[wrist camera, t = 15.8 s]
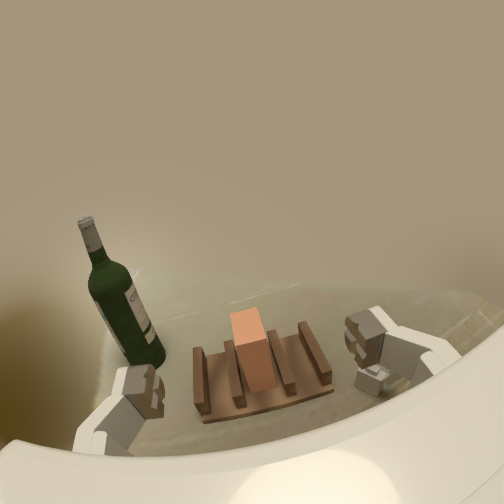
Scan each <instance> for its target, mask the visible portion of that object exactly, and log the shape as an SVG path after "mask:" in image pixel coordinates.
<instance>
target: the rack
mask: <svg viewBox="0 0 504 504" xmlns="http://www.w3.org/2000/svg"><path fill="white" fill-rule="evenodd" d="M298 331H299V334H296V335H292V336H288V337H285V338H281V339H279V338H278V335H277V332H276V330H271V331H267V335H268V340H269V342H267V343H268V348H269V353H270V357H271V362H272V367H273V372H274V377H275V382H276V388H272V389H268V390H264V391H260V392H256V393H252V394H251V392H250V389H249V386H248V383H247V380H246V377H245V374H244V371H243V368H242V364H241V361H240V358H239V355H238V352H237V350H235V347H234V343H233V340H229V341H225V342H224V347H225V352H223V353H218V354H213V355H208V356H205V354H204V352H203V349H202V347H196V348H193V390H194V405H195V406H196V408H197V409H198V411H199V412H200V414H201V415H202V422H203V423H204V424H206V423H212V422H219V421H225V420H230V419H236V418H241V417H246V416H250V415H255V414H259V413H264V412H268V411H272V410H276V409H280V408H283V407H287V406H291V405H294V404H298V403H301V402H304V401H308V400H311V399H314V398H317V397H320V396H323V395H326V394H329V393H332V392H333V391H334V388H333V386H332V384H331V381H332V369H331V367H330V365H329V363H328V361H327V359H326V358H325V356H324V354H323V352H322V350H321V348H320V346H319V344H318V343H317V341H316V339H315V337H314V335H313V333H312V331H311V329H310V328H309V326H308V324H307V322H306V321H304V322H300V323H298Z"/></svg>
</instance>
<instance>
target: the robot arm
mask: <svg viewBox="0 0 504 504" xmlns="http://www.w3.org/2000/svg"><path fill="white" fill-rule="evenodd" d="M345 325H346V326H347V330H346V331H345V342H346V345H347V348H348V349H349V351H350V352H351V353H353V354H355V361H356V362H357V364H358V365H359V367H360V368H361V370H363V369H365V368H368V367H370V366H373V365H376V364H378V363H379V364H380V365H382V366H383V367H385V368H387V369H389V370H391V371H393V372H395V373H397V374H399V375H400V376H402V377H404V378H406V379H408V380H410V381H411V383H410V386H409V388H408V390H407V391H405V392H403V393H401V394H399V395H397V396H396V397H394V398H391V399H389V400H387V401H385V402H383V403H381V404H379V405H377V406H375V407H372V408H370V409H368V410H365V411H363V412H361V413H358V414H356V415H353V416H351V417H348V418H346V419H343V420H341V421H338V422H335V423H332V424H330V425H327V426H324V427H321V428H318V429H315V430H312V431H308V432H305V433H302V434H298V435H295V436H291V437H288V438H284V439H280V440H276V441H272V442H268V443H263V444H259V445H254V446H249V447H244V448H238V449H233V450H226V451H220V452H212V453H204V454H194V455H182V456H164V457H135V456H134V455H132V454H131V453H130V452H128V451H127V450H128V448H129V447H130V445H131V443H132V442H133V440H134V439H135V437H136V435H137V434H138V432H139V431H140V429H141V428H142V426H143V424H144V423H145V421H146V419H156V418H164V404H163V403H162V400H163V398H164V397H165V389H164V384H163V382H162V379H161V378H160V376H158V375H156V374H155V368H154V367H153V365H152V364H145V365H136V366H128V367H119V368H118V369H117V372H116V376H115V380H114V384H113V389H112V393H111V396H108V397H107V398H106V399H105V400H104V401H103V402H102V403H101V404H100V405H99V406H98V407H97V408H96V409H95V411H94V412H93V413H92V414H91V415H90V416H89V417H88V418H87V419H86V420H85V421H84V422H83V423H82V425H81V426H80V427H79V428H78V429H77V432H76V437H75V441H74V446H73V451H65V450H60V449H55V448H49V447H45V446H40V445H36V444H32V443H28V442H24V441H21V440H13V441H12V442H10V443H9V444H8V445H6V446H5V447H4V448H3V449H2V450H1V451H0V504H504V324H503V325H502V326H501V327H500V328H499V329H498V330H496V331H495V332H494V333H493V334H492V335H490V336H489V337H488V338H487V339H485V340H484V341H483V342H482V343H480V344H479V345H478V346H476V347H475V348H474V349H472V350H471V351H470V352H468V353H467V354H465V355H464V356H463V357H461V356H460V355H459V353H458V352H457V351H456V350H455V349H454V348H453V347H452V346H451V345H450V344H449V343H448V342H447V341H446V340H444V339H441V338H437V337H434V336H431V335H428V334H425V333H421V332H418V331H415V330H412V329H409V328H406V327H403V326H400V327H398V326H397V325H396V324H395V323H394V322H393V321H392V320H391V318H390V317H389V316H388V315H387V314H386V313H385V312H384V311H383V310H382V309H381V308H380V307H379V306H375V307H373V308H370V309H367V310H365V311H362V312H359V313H356V314H354V315H351V316H348V317H346V319H345Z"/></svg>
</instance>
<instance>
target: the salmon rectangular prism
mask: <svg viewBox="0 0 504 504" xmlns="http://www.w3.org/2000/svg"><path fill="white" fill-rule="evenodd" d="M230 317H231V323H232V329H233V334H234V340H235V345H236V349H237V352H238V355H239V358H240V361H241V364H242V368H243V371H244V374H245V377H246V380H247V383H248V386H249V389H250V392H251V394H252V393H256V392H260V391H264V390H268V389H272V388H276V382H275V377H274V372H273V367H272V362H271V357H270V353H269V348H268V343H267V338H266V335H265V332H264V329H263V326H262V323H261V320H260V316H259V313H258V310H257V307H255V308H251V309H247V310H243V311H239V312H235V313H230Z"/></svg>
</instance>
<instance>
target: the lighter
mask: <svg viewBox="0 0 504 504" xmlns="http://www.w3.org/2000/svg"><path fill="white" fill-rule="evenodd" d="M400 378H402V376H400V375H399V374H397V373H395V372H393V371H391V370H390V371H389V372H388V373H387V374H386V372H384V371H382V370H380V367H378V366H376V365H373V366H370V367H368V368H365V369H363V370H361V368H360V367H359V369H358V372H357V378H356V384H355V387H357V388H359V389H361V390H363V391H365V392H367V393H369V394H371V395H373V396H375V397H377V396H378V395H379V393H380V392H381V390H382V388H383V384H384V383H385V384H386V385H387V386H390V385H391V384H393V383H394V382H396V381H397V380H399V379H400Z"/></svg>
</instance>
